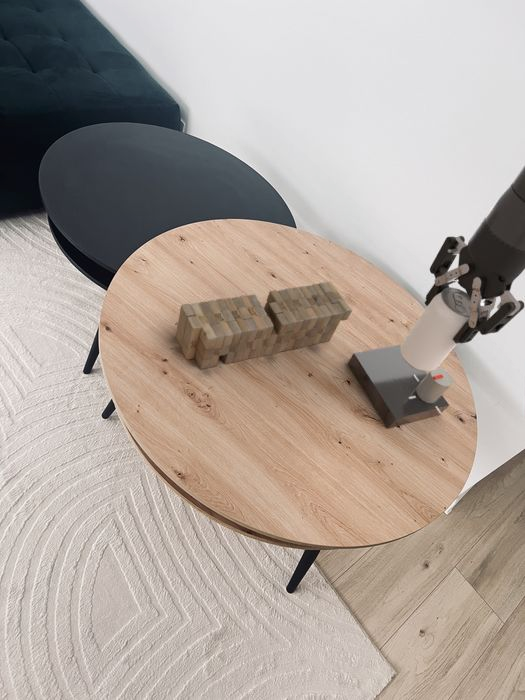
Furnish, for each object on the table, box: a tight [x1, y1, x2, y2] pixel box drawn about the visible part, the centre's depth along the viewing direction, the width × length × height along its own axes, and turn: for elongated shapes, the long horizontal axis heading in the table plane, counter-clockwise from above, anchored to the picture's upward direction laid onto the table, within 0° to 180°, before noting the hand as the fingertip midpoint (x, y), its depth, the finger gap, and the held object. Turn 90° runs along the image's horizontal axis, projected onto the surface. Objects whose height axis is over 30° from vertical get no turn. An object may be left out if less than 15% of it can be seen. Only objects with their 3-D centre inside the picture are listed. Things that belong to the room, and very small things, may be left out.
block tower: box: [175, 281, 353, 370], centre depth 90 cm, size 8×8×29 cm
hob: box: [347, 344, 450, 430], centre depth 93 cm, size 15×13×3 cm
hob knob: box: [416, 366, 454, 404], centre depth 89 cm, size 4×4×5 cm
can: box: [400, 286, 471, 372], centre depth 77 cm, size 6×6×12 cm
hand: (444, 322), depth 76 cm, fingers closed on can, 6 cm apart
